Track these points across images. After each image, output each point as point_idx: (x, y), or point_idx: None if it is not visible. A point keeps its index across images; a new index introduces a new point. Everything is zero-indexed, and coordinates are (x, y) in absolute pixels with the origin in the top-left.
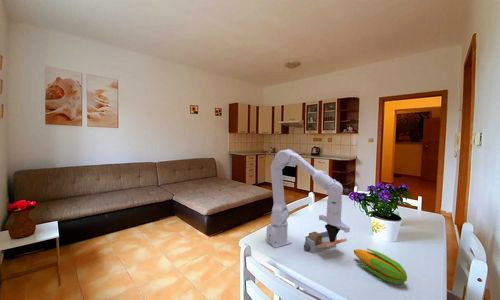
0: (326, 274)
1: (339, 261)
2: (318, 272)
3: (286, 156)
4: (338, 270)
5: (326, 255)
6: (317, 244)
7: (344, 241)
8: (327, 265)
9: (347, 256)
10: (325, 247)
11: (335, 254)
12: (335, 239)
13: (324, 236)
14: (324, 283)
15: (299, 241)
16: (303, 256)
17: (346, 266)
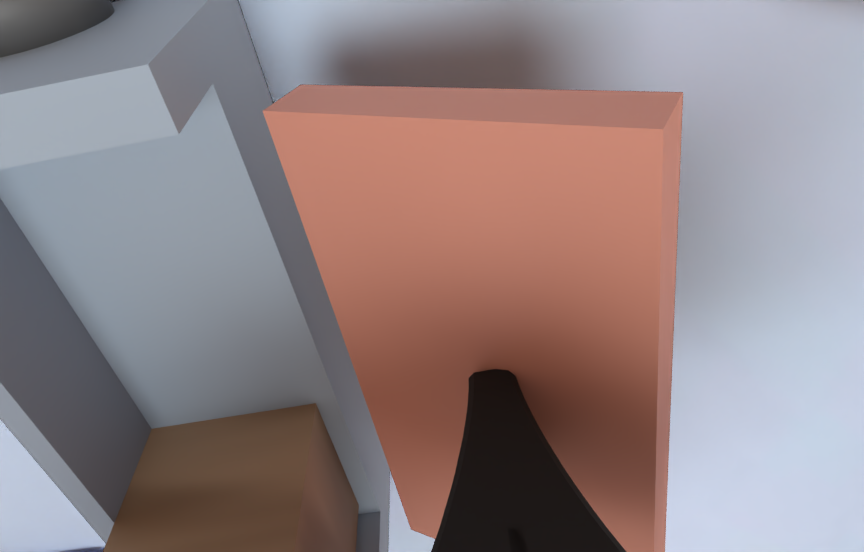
0: (784, 491)
1: (685, 246)
2: (718, 529)
3: None
4: (817, 368)
5: None
6: (343, 479)
7: (675, 202)
8: (674, 419)
9: (639, 7)
10: (320, 288)
11: None
12: (198, 78)
13: (4, 238)
14: (858, 548)
15: (27, 457)
16: (417, 536)
17: (829, 232)
